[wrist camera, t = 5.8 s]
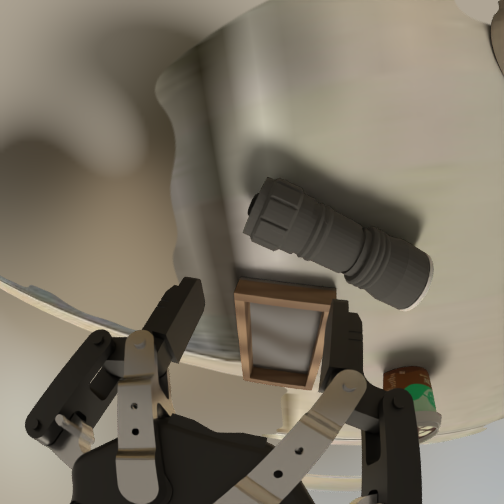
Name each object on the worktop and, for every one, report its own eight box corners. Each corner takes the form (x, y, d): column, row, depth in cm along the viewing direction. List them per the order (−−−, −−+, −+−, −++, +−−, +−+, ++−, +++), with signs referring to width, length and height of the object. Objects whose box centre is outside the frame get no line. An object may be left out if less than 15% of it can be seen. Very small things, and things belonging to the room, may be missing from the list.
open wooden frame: (240, 276, 29) (233, 292, 27) (336, 288, 27) (336, 305, 25) (247, 366, 39) (243, 380, 37) (313, 376, 37) (311, 390, 35)
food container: (446, 376, 32) (454, 430, 24) (417, 392, 36) (419, 444, 28) (412, 351, 30) (419, 418, 22) (377, 370, 34) (378, 433, 26)
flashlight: (230, 248, 21) (251, 194, 17) (251, 207, 24) (271, 157, 20) (394, 321, 21) (438, 289, 17) (393, 275, 25) (428, 241, 21)
